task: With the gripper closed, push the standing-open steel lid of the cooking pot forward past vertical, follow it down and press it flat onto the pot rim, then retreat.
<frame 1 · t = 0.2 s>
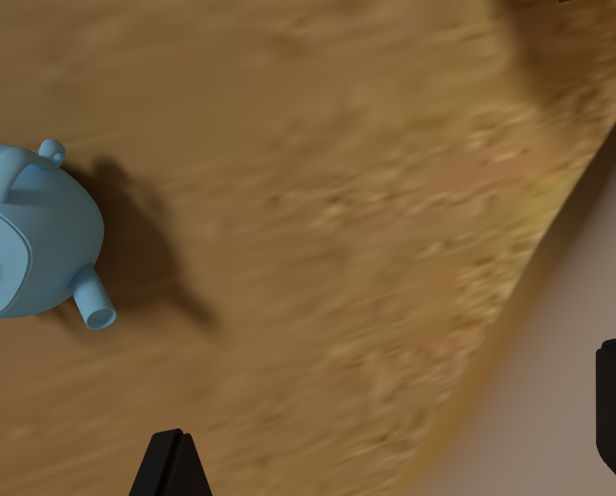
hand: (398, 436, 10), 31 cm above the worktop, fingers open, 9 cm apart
teapot: (44, 222, 40), on the worktop
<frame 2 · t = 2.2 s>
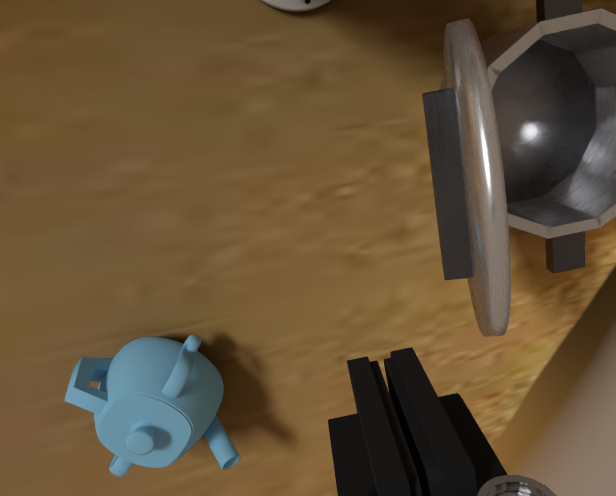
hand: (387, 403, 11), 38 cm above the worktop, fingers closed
lid: (456, 186, 29), point 19 cm above the worktop, hinge at 105.0°
pot: (515, 125, 47), on the worktop
teapot: (174, 375, 55), on the worktop
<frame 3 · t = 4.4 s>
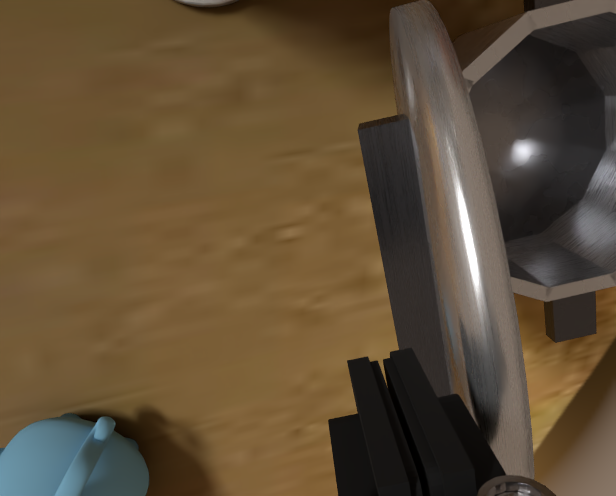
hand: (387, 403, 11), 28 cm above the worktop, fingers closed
lid: (419, 265, 19), point 20 cm above the worktop, hinge at 100.5°, touching gripper
pot: (502, 145, 37), on the worktop
teapot: (93, 457, 45), on the worktop
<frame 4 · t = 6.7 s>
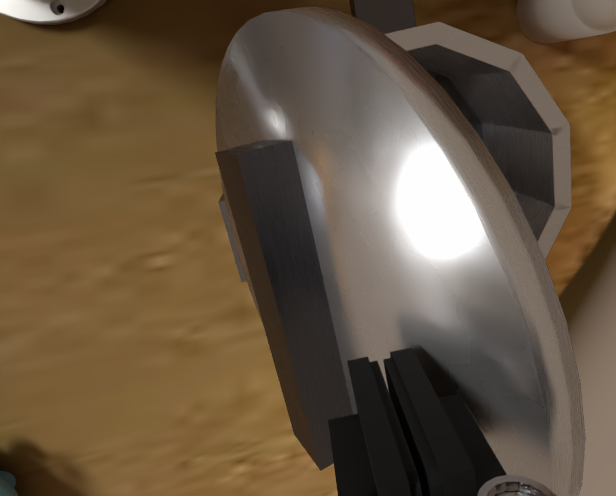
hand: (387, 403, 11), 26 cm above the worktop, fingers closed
lid: (305, 305, 17), point 20 cm above the worktop, hinge at 66.9°, touching gripper
pot: (379, 173, 35), on the worktop
salt cellar: (550, 6, 32), on the worktop
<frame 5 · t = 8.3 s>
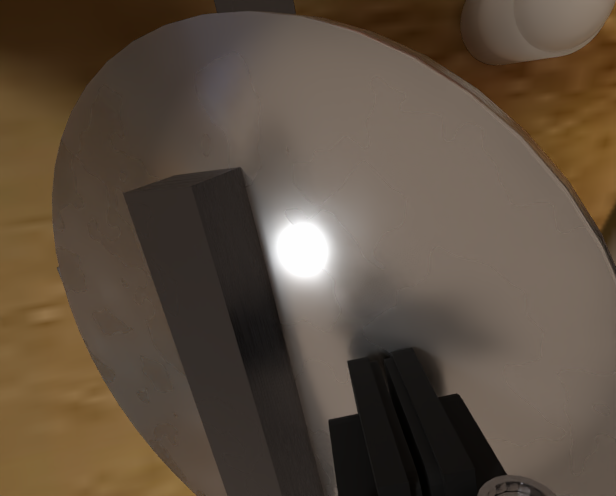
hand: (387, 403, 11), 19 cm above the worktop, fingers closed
lid: (251, 369, 14), point 17 cm above the worktop, hinge at 33.7°, touching gripper
pot: (302, 214, 30), on the worktop
salt cellar: (501, 19, 27), on the worktop
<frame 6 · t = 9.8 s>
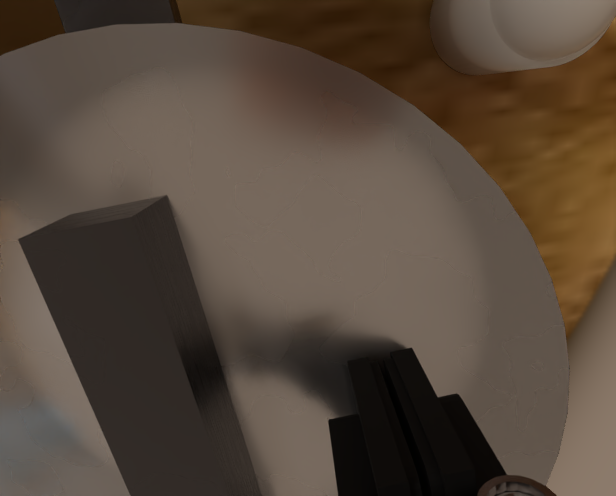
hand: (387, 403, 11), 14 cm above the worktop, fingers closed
lid: (188, 428, 12), point 13 cm above the worktop, hinge at 7.7°, touching gripper
pot: (241, 257, 24), on the worktop
salt cellar: (481, 18, 21), on the worktop
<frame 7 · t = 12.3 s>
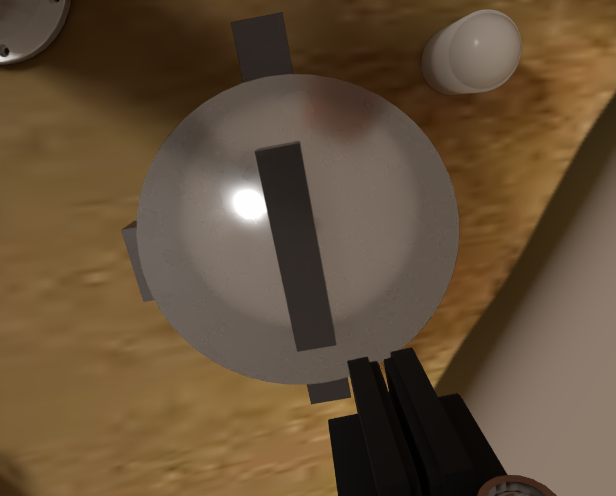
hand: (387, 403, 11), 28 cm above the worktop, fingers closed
lid: (298, 247, 27), point 12 cm above the worktop, hinge at 1.0°
pot: (297, 205, 38), on the worktop
salt cellar: (453, 61, 35), on the worktop
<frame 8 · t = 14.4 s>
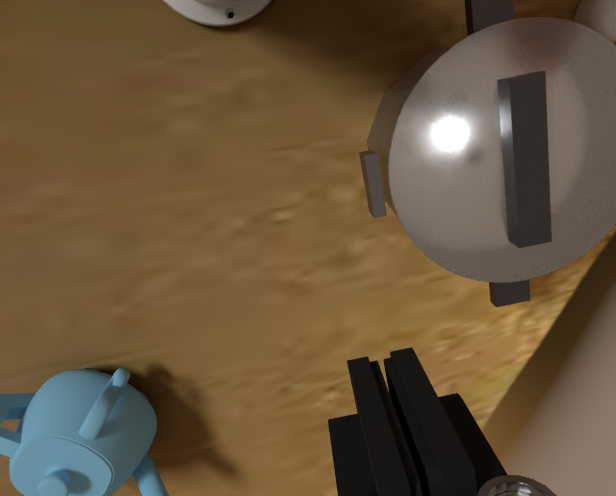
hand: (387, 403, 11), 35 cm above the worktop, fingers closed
lid: (522, 162, 33), point 12 cm above the worktop, hinge at 1.0°
pot: (460, 146, 45), on the worktop
teapot: (108, 408, 52), on the worktop
salt cellar: (601, 15, 42), on the worktop
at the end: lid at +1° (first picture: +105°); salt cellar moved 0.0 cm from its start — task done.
